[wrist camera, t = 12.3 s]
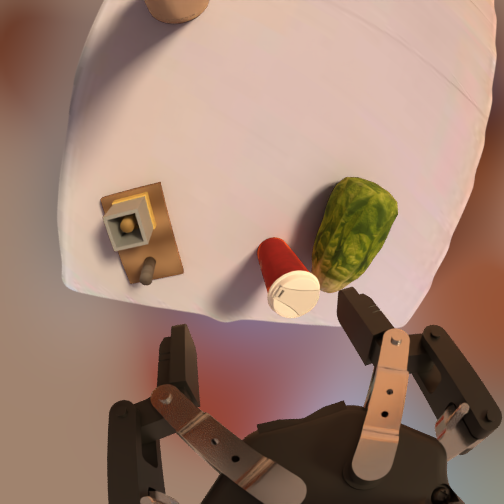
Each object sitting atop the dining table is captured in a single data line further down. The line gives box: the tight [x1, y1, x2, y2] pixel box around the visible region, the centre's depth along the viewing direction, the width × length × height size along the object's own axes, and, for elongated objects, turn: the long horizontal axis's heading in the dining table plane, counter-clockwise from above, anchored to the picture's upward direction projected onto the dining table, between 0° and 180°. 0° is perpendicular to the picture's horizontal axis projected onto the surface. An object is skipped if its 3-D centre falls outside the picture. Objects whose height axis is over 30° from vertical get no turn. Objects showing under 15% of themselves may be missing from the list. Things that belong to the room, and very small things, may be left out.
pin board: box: [100, 182, 184, 285], centre depth 41 cm, size 16×10×7 cm, turn 8°
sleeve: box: [103, 192, 156, 252], centre depth 38 cm, size 6×6×7 cm
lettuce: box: [311, 177, 398, 293], centre depth 45 cm, size 12×21×11 cm, turn 161°
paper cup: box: [257, 237, 320, 318], centre depth 44 cm, size 8×8×14 cm
